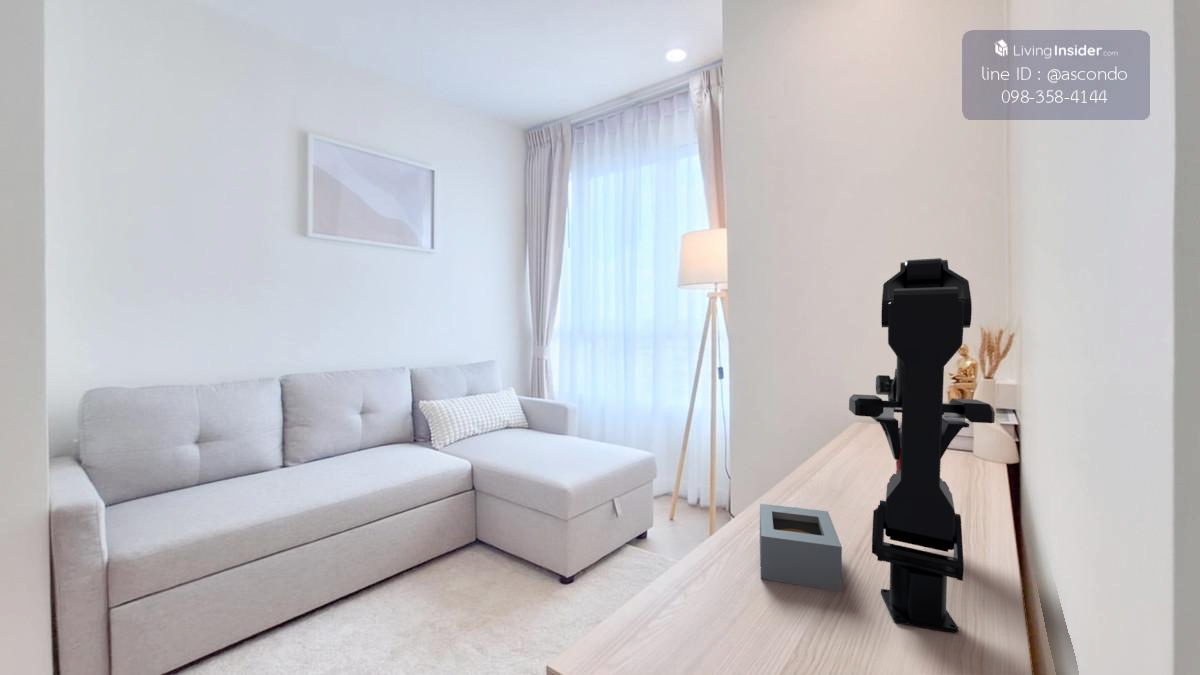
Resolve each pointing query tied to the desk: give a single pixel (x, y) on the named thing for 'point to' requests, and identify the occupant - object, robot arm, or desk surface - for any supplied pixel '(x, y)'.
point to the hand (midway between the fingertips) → (915, 460)
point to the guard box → (799, 547)
